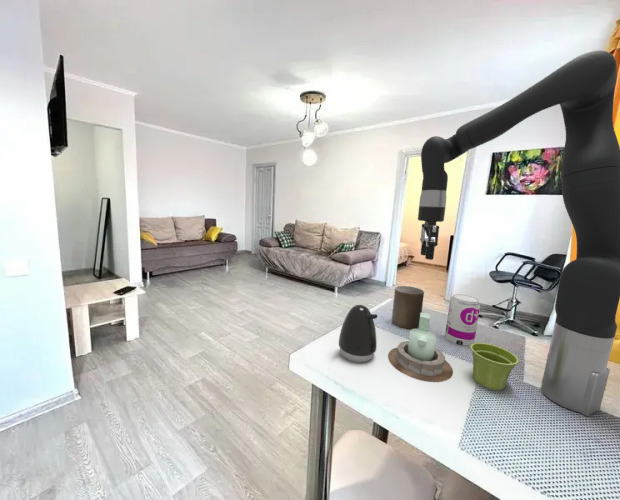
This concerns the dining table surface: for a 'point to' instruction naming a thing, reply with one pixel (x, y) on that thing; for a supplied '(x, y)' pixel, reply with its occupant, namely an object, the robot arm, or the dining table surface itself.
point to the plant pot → (492, 365)
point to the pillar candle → (407, 307)
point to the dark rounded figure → (358, 335)
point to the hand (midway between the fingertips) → (426, 257)
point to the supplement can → (462, 319)
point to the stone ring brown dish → (420, 365)
